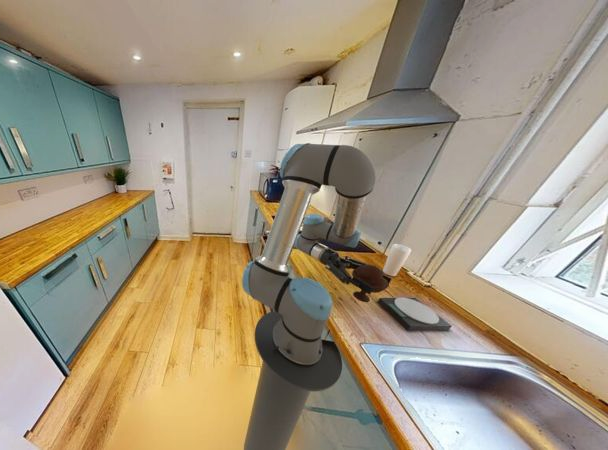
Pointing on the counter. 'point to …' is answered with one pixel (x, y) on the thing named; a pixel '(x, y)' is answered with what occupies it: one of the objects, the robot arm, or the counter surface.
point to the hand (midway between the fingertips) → (381, 286)
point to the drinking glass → (396, 259)
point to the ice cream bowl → (369, 280)
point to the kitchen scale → (413, 314)
